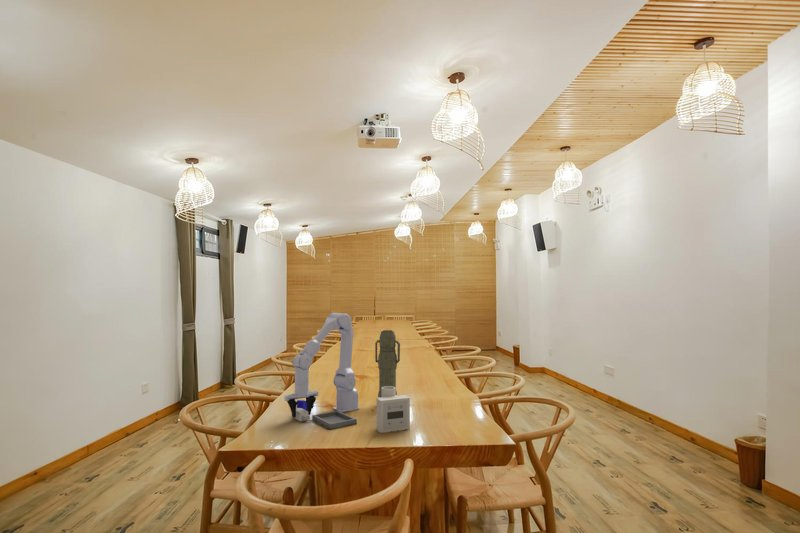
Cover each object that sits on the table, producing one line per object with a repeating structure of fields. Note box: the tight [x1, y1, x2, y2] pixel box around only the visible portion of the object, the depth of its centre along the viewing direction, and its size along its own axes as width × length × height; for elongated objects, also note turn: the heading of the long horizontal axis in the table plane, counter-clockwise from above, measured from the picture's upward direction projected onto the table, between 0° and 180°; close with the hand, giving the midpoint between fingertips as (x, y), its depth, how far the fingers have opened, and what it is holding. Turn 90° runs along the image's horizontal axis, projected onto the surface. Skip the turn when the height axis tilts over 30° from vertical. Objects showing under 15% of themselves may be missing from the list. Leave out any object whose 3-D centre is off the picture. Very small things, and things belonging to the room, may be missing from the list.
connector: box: [294, 407, 311, 422], centre depth 187 cm, size 10×4×4 cm, turn 37°
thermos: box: [374, 329, 401, 398], centre depth 210 cm, size 9×12×35 cm
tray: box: [311, 410, 358, 430], centre depth 183 cm, size 12×16×2 cm
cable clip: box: [296, 399, 315, 411], centre depth 200 cm, size 12×4×6 cm, turn 169°
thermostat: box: [376, 386, 411, 434], centre depth 178 cm, size 12×14×15 cm
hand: (301, 415), depth 187 cm, fingers open, 6 cm apart
